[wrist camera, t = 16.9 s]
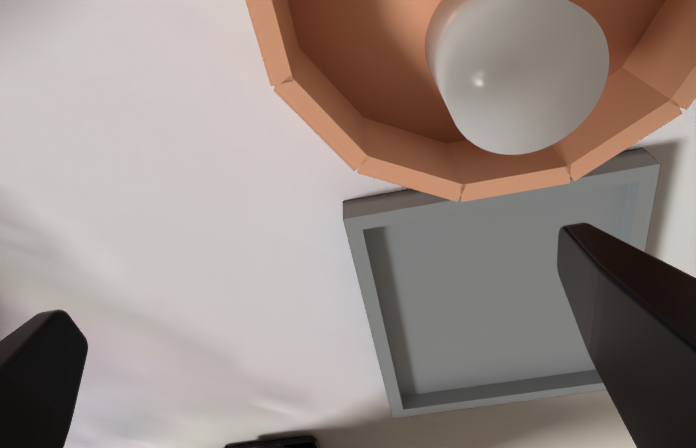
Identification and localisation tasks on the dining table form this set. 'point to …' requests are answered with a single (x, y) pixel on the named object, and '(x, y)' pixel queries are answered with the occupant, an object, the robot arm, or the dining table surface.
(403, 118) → the bowl
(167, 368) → the dining table surface
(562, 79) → the pebble grey
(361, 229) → the parts tray
